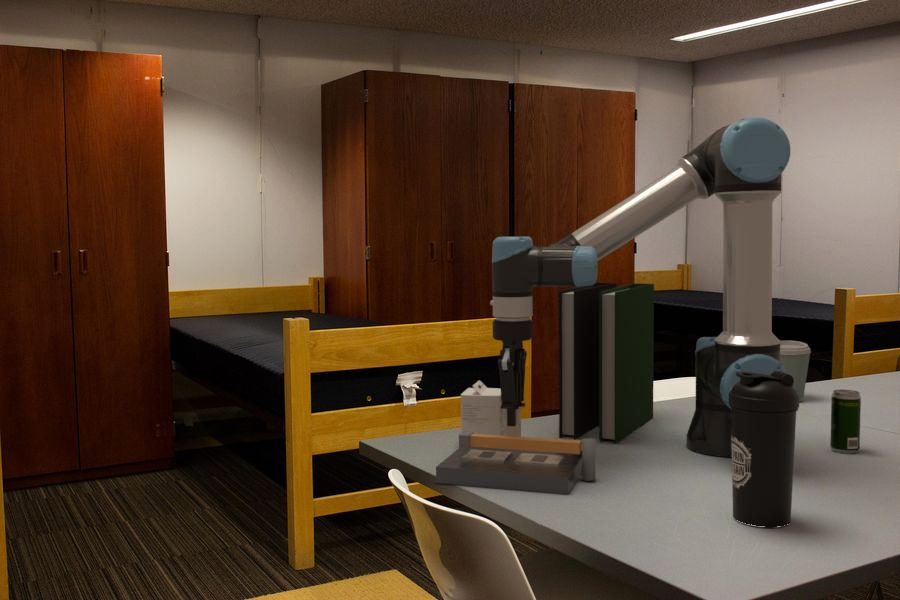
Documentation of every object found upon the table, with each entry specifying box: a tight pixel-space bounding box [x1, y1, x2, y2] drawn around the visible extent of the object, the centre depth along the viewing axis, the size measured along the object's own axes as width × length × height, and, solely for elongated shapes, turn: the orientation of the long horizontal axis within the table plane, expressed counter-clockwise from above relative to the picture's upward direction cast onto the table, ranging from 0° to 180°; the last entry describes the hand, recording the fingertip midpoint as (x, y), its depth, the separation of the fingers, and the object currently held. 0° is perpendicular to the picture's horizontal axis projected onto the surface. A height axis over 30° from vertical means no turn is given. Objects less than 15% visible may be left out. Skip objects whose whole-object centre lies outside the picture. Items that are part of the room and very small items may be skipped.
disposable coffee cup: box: [780, 340, 812, 403], centre depth 223 cm, size 11×11×15 cm
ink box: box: [460, 380, 505, 436], centre depth 181 cm, size 9×8×13 cm
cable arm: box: [458, 431, 596, 482], centre depth 159 cm, size 25×3×7 cm, turn 72°
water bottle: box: [729, 371, 800, 527], centre depth 134 cm, size 10×10×23 cm
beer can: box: [829, 389, 862, 455], centre depth 173 cm, size 5×5×12 cm
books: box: [558, 282, 655, 445], centre depth 195 cm, size 27×15×32 cm, turn 152°
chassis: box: [435, 447, 582, 495], centre depth 160 cm, size 24×18×4 cm
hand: (513, 441), depth 165 cm, fingers closed
